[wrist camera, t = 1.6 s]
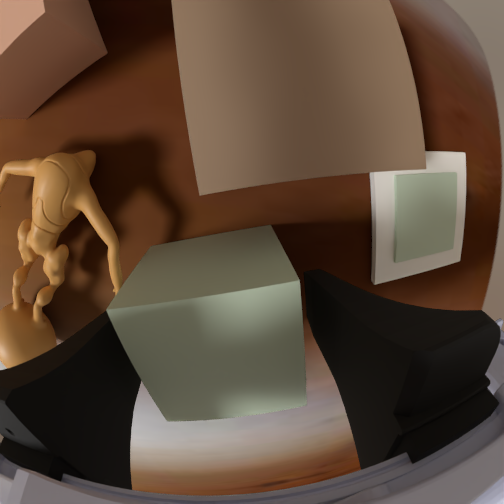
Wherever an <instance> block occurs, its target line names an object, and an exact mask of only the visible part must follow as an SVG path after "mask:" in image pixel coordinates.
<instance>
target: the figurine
mask: <svg viewBox="0 0 504 504" xmlns="http://www.w3.org/2000/svg"><path fill="white" fill-rule="evenodd" d="M95 164H96V154H95V153H94V152H93V151H91V150H85V151H81V152H78V153H75V154H68V153H54V154H52V155H50V156H48V157H47V158H46V157H37V158H34V159H30V160H26V159H21V160H13V161H10V162H8V163H6V164H5V165H4V167H3V169H2V171H1V174H0V193H1V192H2V190H3V188H4V186H5V184H6V182H7V180H8V179H9V177H10V175H11V174H15V175H24V176H33V177H35V179H34V187H33V207H32V219H30V218H27V219H25V220H24V221H23V222H22V223H21V225H20V227H19V229H18V239H19V250H20V253H21V257H22V259H23V260H24V264H23V266H22V267H20V268H18V269H17V270H16V271H15V273H14V276H13V282H14V285H13V288H12V293H13V300H14V303H11V304H8V305H7V306H5V307H4V308H3V309H2V310H1V311H0V360H1V362H2V363H3V364H4V365H5V366H6V367H7V368H11V367H13V366H16V365H19V364H21V363H24V362H26V361H29V360H31V359H33V358H35V357H37V356H39V355H41V354H43V353H45V352H47V351H49V350H51V349H52V348H54V347H56V346H57V343H56V335H55V332H54V329H53V326H52V324H51V322H50V321H49V319H48V318H47V316H46V315H45V314H44V313H43V312H42V307H43V306H44V305H46V304H48V303H49V302H50V301H51V300H52V297H53V294H54V292H55V290H56V289H57V288H58V287H59V286H60V285H61V284H62V283H63V282H64V279H65V274H64V263H65V261H66V260H67V258H68V255H69V250H68V247H67V246H66V245H64V244H61V245H59V246H58V247H56V243H57V240H58V238H59V236H60V233H61V232H62V231H63V230H64V229H65V228H66V227H67V226H68V224H69V223H70V222H71V221H72V220H73V219H74V218H76V217H77V216H78V214H79V213H80V211H82V212H83V213H84V214H85V215H86V217H87V218H88V220H89V221H90V223H91V224H92V226H93V227H94V229H95V230H96V232H97V233H98V235H99V236H100V237H101V238H102V240H103V241H104V242H105V243H106V244H107V245H108V261H109V270H110V275H111V279H112V282H113V284H114V287H115V288H114V289H113V292H115V294H117V293H118V291H119V290H120V288H121V287H122V272H121V267H120V262H119V253H120V244H119V240H118V237H117V235H116V232H115V231H114V229H113V227H112V225H111V223H110V221H109V220H108V218H107V216H106V215H105V214H104V212H103V211H102V209H101V207H100V205H99V202H98V199H97V197H96V194H95V192H94V191H93V189H92V187H91V185H90V181H89V178H90V176H91V174H92V172H93V170H94V167H95ZM0 207H1V206H0ZM40 255H42V256H43V257H44V258H45V260H44V264H43V269H44V272H45V273H46V275H47V276H48V277H49V279H50V285H49V286H46V287H43V288H42V289H41V290H40V291H39V292H38V294H37V298H36V302H35V304H34V305H32V304H29V303H27V302H24V299H23V298H22V297H21V292H20V287H21V286H22V285H23V284H24V283H25V282H26V280H27V276H28V272H29V270H30V268H31V266H32V264H33V263H34V261H35V260H36V259H37V258H38V257H39V256H40ZM115 296H116V295H115Z"/></svg>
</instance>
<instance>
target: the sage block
mask: <svg viewBox="0 0 504 504" xmlns="http://www.w3.org/2000/svg"><path fill="white" fill-rule="evenodd" d="M106 311H107V313H108V315H109V318H110V320H111V322H112V324H113V326H114V329H115V331H116V333H117V335H118V337H119V339H120V341H121V343H122V345H123V347H124V349H125V351H126V353H127V355H128V357H129V359H130V360H131V362H132V364H133V366H134V368H135V370H136V371H137V373H138V375H139V377H140V379H141V380H142V382H143V384H144V385H145V387H146V389H147V390H148V392H149V394H150V395H151V397H152V399H153V400H154V402H155V403H156V405H157V406H158V408H159V410H160V411H161V413H162V414H163V416H164V417H165V419H166V420H167V421H197V420H212V419H224V418H233V417H242V416H250V415H257V414H264V413H270V412H276V411H281V410H287V409H292V408H297V407H301V406H306V405H307V397H306V370H305V350H304V332H303V317H302V303H301V290H300V280H299V278H298V276H297V274H296V272H295V270H294V268H293V266H292V264H291V262H290V261H289V259H288V257H287V255H286V253H285V251H284V249H283V247H282V245H281V243H280V242H279V240H278V238H277V236H276V234H275V232H274V230H273V228H272V227H271V225H266V226H260V227H254V228H248V229H243V230H237V231H231V232H225V233H220V234H214V235H208V236H203V237H197V238H192V239H186V240H181V241H176V242H170V243H165V244H160V245H155V246H151V247H150V248H149V250H148V251H147V252H146V254H145V255H144V256H143V258H142V259H141V260H140V262H139V263H138V264H137V266H136V267H135V269H134V270H133V271H132V273H131V274H130V276H129V277H128V278H127V280H126V281H125V283H124V284H123V286H122V287H121V288H120V290H119V291H118V293H117V294H116V296H115V297H114V299H113V300H112V302H111V303H110V305H109V306H108V308H107V309H106Z"/></svg>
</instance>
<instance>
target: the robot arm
mask: <svg viewBox="0 0 504 504" xmlns="http://www.w3.org/2000/svg"><path fill="white" fill-rule="evenodd" d="M304 282H305V295H306V310H307V318H308V321H309V324H310V327H311V330H312V333H313V336H314V338H315V340H316V342H317V344H318V346H319V348H320V350H321V352H322V354H323V356H324V358H325V360H326V362H327V364H328V366H329V368H330V370H331V373H332V375H333V377H334V379H335V381H336V384H337V386H338V389H339V392H340V395H341V398H342V401H343V404H344V407H345V410H346V413H347V417H348V420H349V423H350V427H351V430H352V434H353V438H354V441H355V445H356V449H357V453H358V458H359V462H360V467H361V470H359V471H356V472H353V473H350V474H347V475H344V476H340V477H337V478H333V479H329V480H326V481H322V482H318V483H313V484H309V485H304V486H299V487H294V488H288V489H283V490H276V491H269V492H261V493H252V494H240V495H221V496H189V495H171V494H159V493H150V492H142V491H135V490H132V484H131V472H130V441H131V427H132V418H133V411H134V406H135V401H136V398H137V394H138V391H139V387H140V384H141V379H140V377H139V375H138V373H137V371H136V370H135V368H134V366H133V364H132V362H131V360H130V359H129V357H128V355H127V353H126V351H125V349H124V347H123V345H122V343H121V341H120V339H119V337H118V335H117V333H116V331H115V329H114V326H113V324H112V322H111V320H110V318H109V315H108V313H107V311H105V312H104V313H102V314H101V315H100V316H98V317H97V318H96V319H94V320H93V321H92V322H91V323H89V324H88V325H87V326H85V327H84V328H82V329H81V330H80V331H78V332H77V333H75V334H74V335H73V336H71V337H70V338H68V339H67V340H65V341H64V342H62V343H61V344H59V345H57V346H56V347H54V348H52V349H51V350H49V351H47V352H45V353H43V354H41V355H39V356H37V357H35V358H33V359H31V360H29V361H26V362H24V363H21V364H19V365H16V366H13V367H11V368H7V369H4V370H0V434H1V435H2V436H3V437H4V438H3V440H2V442H1V443H0V504H504V332H503V331H502V330H501V328H502V325H503V320H502V319H498V320H497V321H494V320H492V319H491V318H490V317H489V316H488V315H487V314H486V313H485V312H483V311H482V310H470V311H454V310H441V309H431V308H424V307H419V306H414V305H409V304H404V303H400V302H396V301H393V300H390V299H387V298H383V297H380V296H377V295H375V294H372V293H370V292H367V291H365V290H362V289H360V288H358V287H356V286H353V285H351V284H349V283H347V282H345V281H343V280H341V279H339V278H337V277H335V276H333V275H331V274H329V273H327V272H325V271H323V270H320V269H316V270H311V271H306V272H304Z"/></svg>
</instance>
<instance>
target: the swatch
mask: <svg viewBox="0 0 504 504" xmlns="http://www.w3.org/2000/svg"><path fill="white" fill-rule="evenodd" d="M425 155H426V169H423V170H401V171H384V172H370V184H371V205H372V270H371V281H372V282H373V284H374V285H376V284H380V283H384V282H388V281H391V280H395V279H399V278H403V277H407V276H411V275H414V274H418V273H421V272H425V271H429V270H432V269H436V268H439V267H442V266H446V265H449V264H452V263H456V262H459V261H460V257H461V250H462V242H463V233H464V222H465V206H466V155H465V153H464V152H448V151H425Z"/></svg>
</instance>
